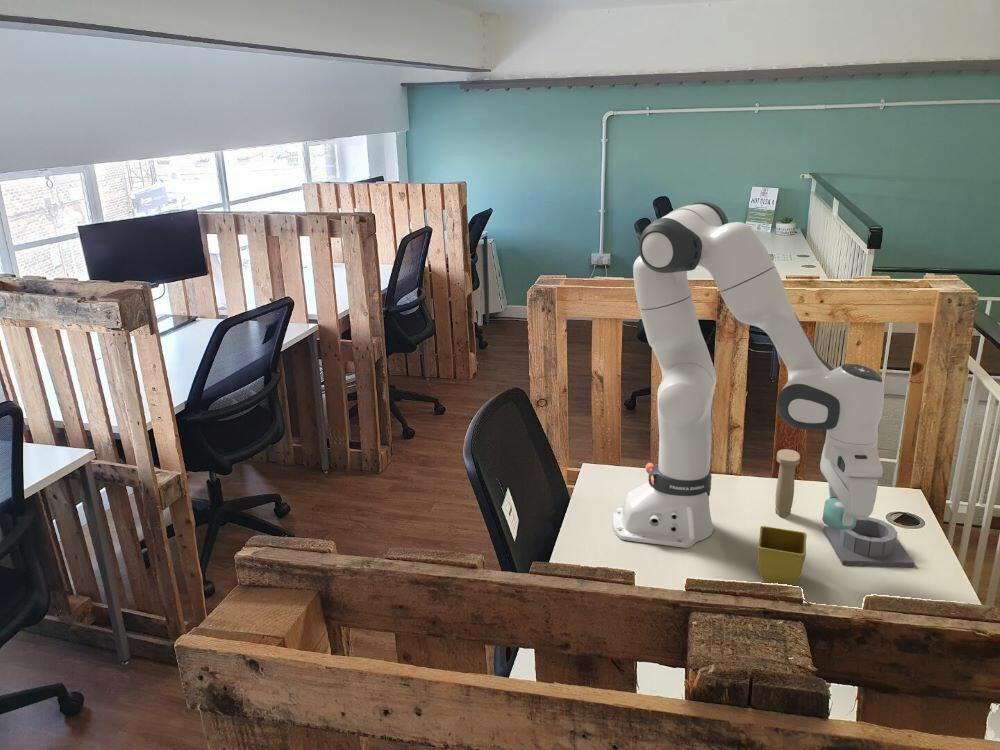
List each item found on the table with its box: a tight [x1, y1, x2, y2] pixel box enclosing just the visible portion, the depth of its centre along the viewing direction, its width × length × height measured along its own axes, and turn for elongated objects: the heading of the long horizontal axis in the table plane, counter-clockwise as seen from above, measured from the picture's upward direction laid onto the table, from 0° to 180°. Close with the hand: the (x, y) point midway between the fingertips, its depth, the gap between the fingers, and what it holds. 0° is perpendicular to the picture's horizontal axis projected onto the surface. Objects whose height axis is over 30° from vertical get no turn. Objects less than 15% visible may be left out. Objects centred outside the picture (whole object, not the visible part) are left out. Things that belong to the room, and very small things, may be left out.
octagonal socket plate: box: [822, 516, 916, 568], centre depth 163 cm, size 14×14×5 cm
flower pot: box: [757, 525, 807, 586], centre depth 153 cm, size 9×9×9 cm
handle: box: [774, 449, 801, 518], centre depth 177 cm, size 5×6×15 cm
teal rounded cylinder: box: [822, 498, 857, 530], centre depth 150 cm, size 6×6×4 cm
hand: (840, 514), depth 150 cm, fingers closed on teal rounded cylinder, 6 cm apart
